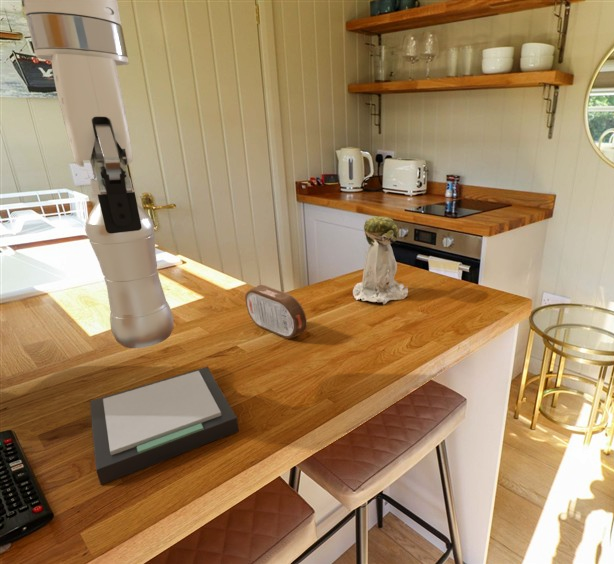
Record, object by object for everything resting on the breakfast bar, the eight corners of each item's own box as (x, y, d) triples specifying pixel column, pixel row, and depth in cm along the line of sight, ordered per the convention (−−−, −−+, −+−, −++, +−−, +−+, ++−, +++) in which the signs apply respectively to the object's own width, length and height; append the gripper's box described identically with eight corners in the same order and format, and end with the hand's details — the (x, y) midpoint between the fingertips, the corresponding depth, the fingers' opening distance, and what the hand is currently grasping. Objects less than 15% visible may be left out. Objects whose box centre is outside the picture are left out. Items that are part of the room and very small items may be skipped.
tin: (309, 339, 79) (306, 297, 76) (296, 346, 76) (292, 303, 73) (258, 318, 87) (254, 279, 84) (245, 323, 84) (240, 284, 81)
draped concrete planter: (342, 292, 100) (339, 216, 94) (385, 280, 108) (385, 209, 102) (371, 308, 92) (370, 226, 85) (416, 294, 100) (418, 217, 93)
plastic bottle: (187, 338, 54) (158, 177, 47) (133, 361, 49) (90, 184, 42) (159, 325, 57) (127, 173, 50) (105, 346, 52) (61, 179, 45)
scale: (100, 485, 47) (94, 465, 46) (93, 414, 58) (88, 397, 57) (239, 431, 55) (236, 413, 54) (209, 378, 66) (206, 363, 65)
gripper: (35, 51, 46) (78, 215, 52) (25, 24, 33) (83, 247, 39) (117, 57, 50) (147, 209, 56) (137, 36, 37) (173, 236, 43)
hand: (120, 223), depth 47 cm, fingers closed on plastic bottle, 6 cm apart
